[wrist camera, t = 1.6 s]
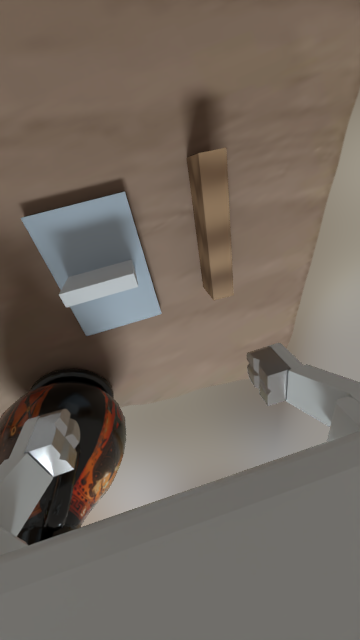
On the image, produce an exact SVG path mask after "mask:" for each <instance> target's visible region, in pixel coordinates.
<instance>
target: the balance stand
mask: <svg viewBox="0 0 360 640" xmlns="http://www.w3.org/2000/svg"><path fill="white" fill-rule="evenodd" d="M21 220H22V221H23V223H24V225H25V227H26V229H27V230H28V232H29V234H30V236H31V238H32V239H33V241H34V243H35V245H36V247H37V248H38V250H39V252H40V254H41V255H42V257H43V259H44V261H45V263H46V264H47V266H48V268H49V270H50V272H51V273H52V275H53V277H54V279H55V281H56V282H57V284H58V286H59V288H60V290H61V291H60V293H59V296H60V298H61V299H62V301H63V303H64V305H65V306H66V307H70V308H71V309H72V311H73V313H74V315H75V317H76V318H77V320H78V322H79V324H80V326H81V327H82V329H83V331H84V333H85V335H86V336H89V335H93V334H96V333H99V332H103V331H106V330H109V329H113V328H116V327H119V326H123V325H126V324H129V323H133V322H136V321H139V320H143V319H146V318H150V317H153V316H156V315H160V314H161V311H160V307H159V304H158V301H157V297H156V294H155V291H154V287H153V284H152V281H151V277H150V274H149V271H148V267H147V264H146V261H145V257H144V254H143V251H142V247H141V244H140V241H139V237H138V234H137V231H136V227H135V224H134V221H133V217H132V214H131V211H130V207H129V204H128V201H127V197H126V194H125V191H124V192H120V193H116V194H112V195H109V196H105V197H101V198H97V199H93V200H89V201H85V202H81V203H77V204H73V205H69V206H65V207H61V208H57V209H53V210H49V211H46V212H42V213H38V214H34V215H30V216H26V217H23V218H21Z"/></svg>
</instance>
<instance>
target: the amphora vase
mask: <svg viewBox="0 0 360 640" xmlns="http://www.w3.org/2000/svg"><path fill="white" fill-rule="evenodd" d="M62 409H67V410H68V411H69V412H70V413H71V415H70V418H71V419H74V420H76V422H77V423H78V425H79V428H80V441H79V443H78V445H77V446H76V448H75V450H76V452H77V457H76V462H75V467H74V470H71V471H68V472H66V473H63V474H60V475H57V476H54V477H53V479H52V481H51V482H50V484H49V486H48V487H47V489H46V490H45V492H44V494H43V495H42V497H41V498H40V500H39V502H38V503H37V505H36V507H35V508H34V510H33V511H32V513H31V515H30V516H29V518H28V519H27V521H26V523H25V524H24V526H23V527H22V529H21V531H20V532H19V534H18V535H17V537H18V538H20V539H21V540H23V541H25V542H26V543H27V545H28V546H29V545H31V544H34V543H37V542H40V541H43V540H46V539H49V538H52V537H54V536H57V535H60V534H63V533H66V532H69V531H72V530H75V529H78V528H80V527H81V525H82V523H83V522H84V520H85V518H86V517H87V515H88V514H89V513H90V511H91V510H92V509H93V507H94V506H95V505H96V504H97V503H98V501H99V500H100V499H101V498H102V496H103V495H104V494H105V493H106V491H107V490H108V489H109V487H110V486H111V484H112V482H113V480H114V478H115V476H116V473H117V471H118V469H119V466H120V464H121V461H122V457H123V454H124V449H125V443H126V426H125V417H124V415H123V413H122V411H121V409H120V407H119V405H118V403H117V402H116V401H115V400H114V397H113V390H112V388H111V386H110V384H109V383H108V382H107V381H106V380H105V379H104V378H102V377H101V376H99V375H97V374H95V373H93V372H89V371H86V370H79V369H66V370H60V371H56V372H52V373H49V374H47V375H45V376H44V377H42V378H40V379H39V380H38V381H37V382H36V383H35V384H34V385H33V386H32V388H31V390H30V392H29V393H27V394H26V395H24V396H22V397H20V398H19V399H18V400H17V401H16V402H15V403H14V404H13V405H11V406H10V407H9V408H8V409H7V410H6V411H5V412H4V413H3V414H2V416H1V418H0V465H1V464H2V462H3V461H4V460H7V459H9V457H10V455H11V453H12V450H13V448H14V446H15V444H16V441H17V439H18V437H19V435H20V432H21V430H22V428H23V426H24V424H25V422H26V421H27V420H28V419H31V418H34V417H38V416H41V415H44V414H48V413H51V412H55V411H58V410H62Z"/></svg>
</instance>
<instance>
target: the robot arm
mask: <svg viewBox="0 0 360 640" xmlns="http://www.w3.org/2000/svg"><path fill="white" fill-rule="evenodd" d="M247 360H248V362H249V365H248V366H247V369H248V374H249V378H250V380H251V382H252V383H253V385H254V387H257V388H259V391H260V395H261V397H262V398H263V400H264V401H265V403H266V404H267V406H269V405H273V404H277V403H280V402H283V401H287V402H288V403H290V404H291V405H293V406H295V407H296V408H298V409H300V410H302V411H303V412H305V413H307V414H309V415H310V416H312V417H313V418H315V419H317V420H319V421H320V422H322V423H324V424H325V425H327V426H329V427H330V431H329V435H328V439H327V442H325V443H322V444H320V445H317V446H314V447H311V448H308V449H305V450H302V451H300V452H297V453H294V454H291V455H288V456H285V457H282V458H279V459H277V460H273V461H271V462H268V463H265V464H262V465H259V466H256V467H254V468H251V469H247V470H245V471H242V472H239V473H236V474H233V475H230V476H227V477H225V478H221V479H219V480H216V481H213V482H210V483H207V484H204V485H201V486H199V487H196V488H193V489H190V490H187V491H184V492H182V493H178V494H175V495H172V496H170V497H167V498H164V499H161V500H158V501H155V502H152V503H149V504H147V505H144V506H141V507H138V508H135V509H132V510H129V511H126V512H124V513H121V514H118V515H115V516H112V517H109V518H106V519H103V520H101V521H98V522H95V523H92V524H89V525H86V526H83V527H80V528H78V529H75V530H72V531H69V532H66V533H63V534H60V535H57V536H54V537H52V538H49V539H46V540H43V541H40V542H37V543H34V544H31V545H29V546H28V545H27V543H26V542H25V541H23V540H21V539H20V538H18V537H17V535H18V534H19V532H20V531H21V529H22V527H23V526H24V524H25V523H26V521H27V519H28V518H29V516H30V515H31V513H32V511H33V510H34V508H35V507H36V505H37V503H38V502H39V500H40V498H41V497H42V495H43V494H44V492H45V490H46V489H47V487H48V486H49V484H50V482H51V481H52V479H53V477H54V476H57V475H60V474H63V473H66V472H68V471H71V470H74V467H75V462H76V457H77V452H76V450H75V448H76V446H77V445H78V443H79V441H80V428H79V425H78V423H77V422H76V420H74V419H71V418H70V415H71V413H70V412H69V411H68V410H67V409H62V410H58V411H55V412H51V413H48V414H44V415H41V416H38V417H34V418H31V419H28V420H27V421H26V422H25V424H24V426H23V428H22V430H21V432H20V435H19V437H18V439H17V441H16V444H15V446H14V448H13V450H12V453H11V455H10V457H9V459H7V460H4V461H3V462H2V464H1V465H0V640H360V382H357V381H354V380H351V379H349V378H345V377H343V376H340V375H337V374H334V373H331V372H328V371H325V370H322V369H319V368H316V367H313V366H310V365H303V364H302V363H301V362H300V361H299V360H298V359H297V358H296V357H295V356H294V355H292V354H291V353H290V352H289V351H288V350H287V349H286V348H285V347H284V346H283V345H282V344H281V343H276V344H273V345H270V346H267V347H264V348H261V349H257V350H254V351H251V352H248V353H247Z"/></svg>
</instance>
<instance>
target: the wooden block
mask: <svg viewBox="0 0 360 640" xmlns="http://www.w3.org/2000/svg"><path fill="white" fill-rule="evenodd" d="M187 164H188V172H189V180H190V188H191V195H192V203H193V211H194V219H195V226H196V234H197V242H198V250H199V257H200V265H201V273H202V281H203V287H204V289H205V290H206V291H207V292H208V294H209V295H210V296H211V298H212V299H213V300H218V299H221V298H225V297H229V296H233V295H234V293H233V273H232V253H231V232H230V212H229V192H228V172H227V152H226V148H222V149H217V150H212V151H207V152H202V153H198V154H195V155H193V156H190V157H187Z"/></svg>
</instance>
